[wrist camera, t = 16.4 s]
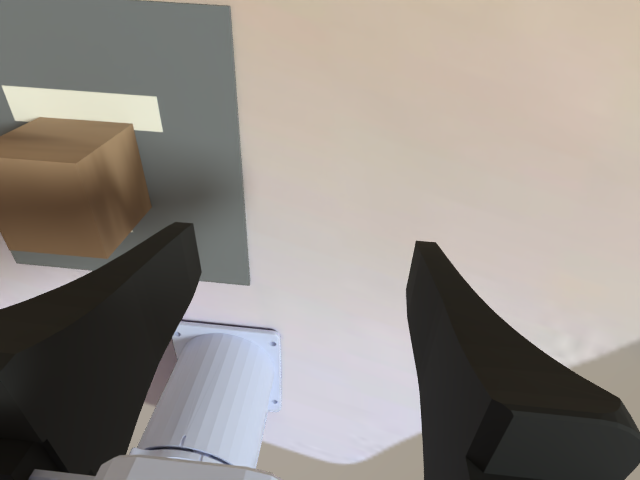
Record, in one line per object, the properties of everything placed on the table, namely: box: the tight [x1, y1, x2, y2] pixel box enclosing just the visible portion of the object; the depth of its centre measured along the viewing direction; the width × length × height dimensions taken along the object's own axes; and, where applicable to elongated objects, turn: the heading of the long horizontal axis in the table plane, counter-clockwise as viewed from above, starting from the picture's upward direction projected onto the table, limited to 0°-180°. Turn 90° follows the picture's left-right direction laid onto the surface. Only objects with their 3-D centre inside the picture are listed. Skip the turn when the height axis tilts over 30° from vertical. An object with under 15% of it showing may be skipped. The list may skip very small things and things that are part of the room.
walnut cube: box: [0, 117, 152, 259], centre depth 21 cm, size 5×5×5 cm
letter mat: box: [0, 0, 250, 286], centre depth 23 cm, size 16×16×1 cm
